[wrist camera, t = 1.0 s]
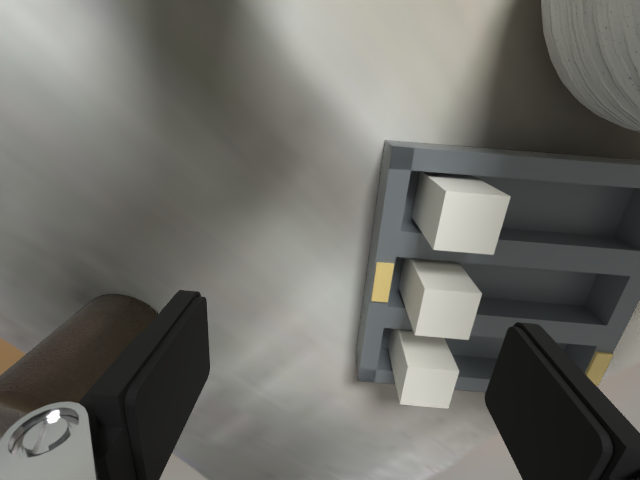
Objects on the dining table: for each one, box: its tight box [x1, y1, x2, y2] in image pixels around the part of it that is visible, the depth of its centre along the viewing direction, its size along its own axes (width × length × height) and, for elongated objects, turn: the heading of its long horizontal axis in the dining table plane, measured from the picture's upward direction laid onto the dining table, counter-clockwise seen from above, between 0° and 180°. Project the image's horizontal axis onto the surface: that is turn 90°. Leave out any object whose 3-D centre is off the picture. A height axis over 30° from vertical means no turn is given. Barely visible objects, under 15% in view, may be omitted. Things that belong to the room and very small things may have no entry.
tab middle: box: [399, 258, 482, 340], centre depth 28 cm, size 4×4×7 cm
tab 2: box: [412, 171, 511, 255], centre depth 25 cm, size 4×4×7 cm
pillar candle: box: [0, 295, 158, 440], centre depth 30 cm, size 10×10×15 cm
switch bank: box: [356, 140, 640, 392], centre depth 30 cm, size 22×22×4 cm
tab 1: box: [388, 329, 459, 409], centre depth 30 cm, size 4×4×7 cm
